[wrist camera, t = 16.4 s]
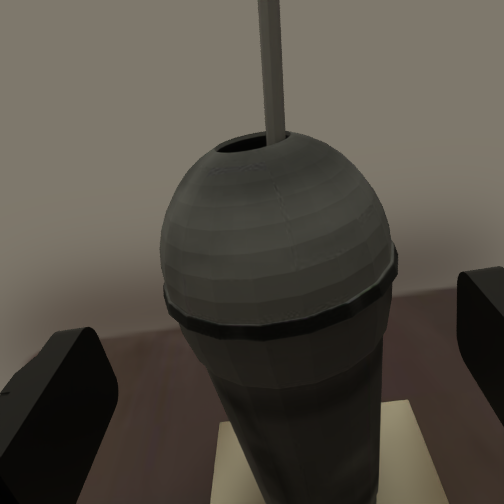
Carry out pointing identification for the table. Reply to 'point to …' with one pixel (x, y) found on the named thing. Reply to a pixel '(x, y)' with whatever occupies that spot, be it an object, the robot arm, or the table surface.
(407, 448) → the birch coaster
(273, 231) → the beverage cup
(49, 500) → the robot arm
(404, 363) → the table surface
